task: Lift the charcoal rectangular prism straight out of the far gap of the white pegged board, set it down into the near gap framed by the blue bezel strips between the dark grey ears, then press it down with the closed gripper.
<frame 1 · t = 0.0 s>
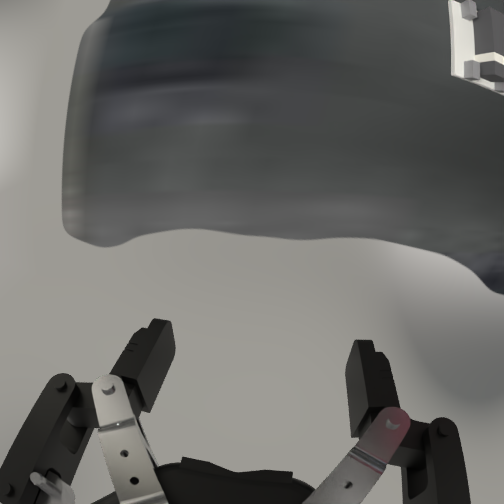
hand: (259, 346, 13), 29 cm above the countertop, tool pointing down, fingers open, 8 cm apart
charcoal rectangular prism: (482, 47, 24), point 1 cm above the countertop, touching white pegged board
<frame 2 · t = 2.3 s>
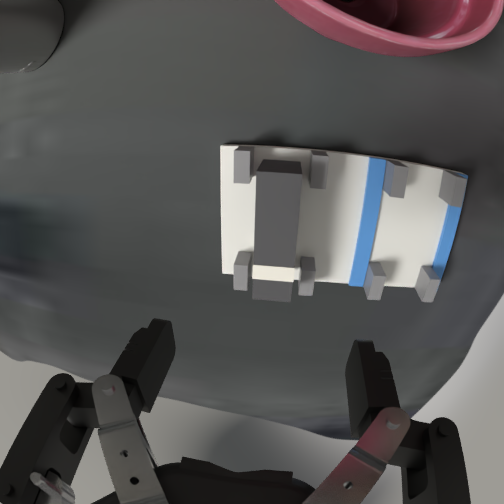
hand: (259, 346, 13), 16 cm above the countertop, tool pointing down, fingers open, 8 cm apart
charcoal rectangular prism: (278, 218, 26), point 1 cm above the countertop, touching white pegged board
white pegged board: (345, 219, 26), on the countertop
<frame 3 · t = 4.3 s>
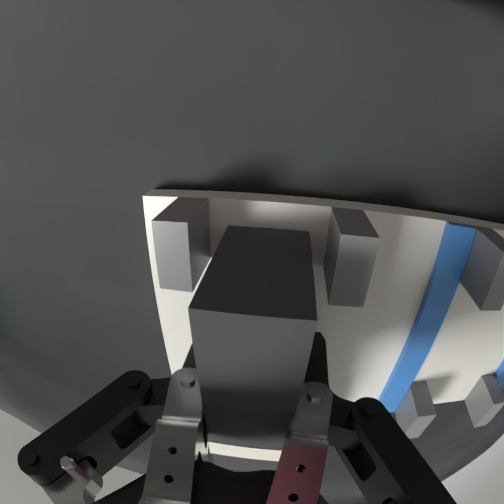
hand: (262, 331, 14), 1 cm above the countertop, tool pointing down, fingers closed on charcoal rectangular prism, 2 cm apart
charcoal rectangular prism: (262, 330, 14), point 1 cm above the countertop, touching white pegged board, gripper
white pegged board: (383, 323, 14), on the countertop
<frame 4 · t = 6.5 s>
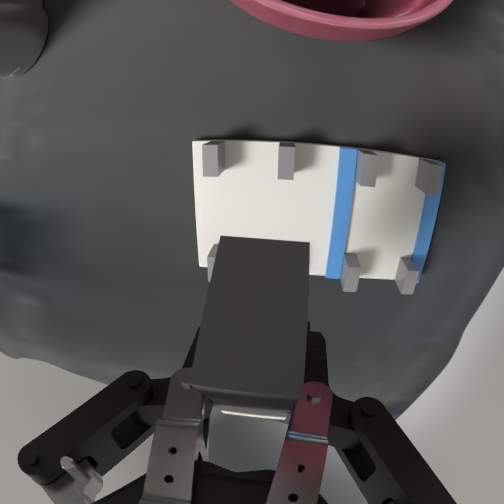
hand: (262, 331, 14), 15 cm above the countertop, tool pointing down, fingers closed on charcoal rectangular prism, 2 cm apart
charcoal rectangular prism: (264, 304, 14), point 14 cm above the countertop, tilted 27°, touching gripper
white pegged board: (319, 211, 27), on the countertop
when the fingers open (2 cm above the countertop, at t = 9.3 s): charcoal rectangular prism stays where it is, resting on white pegged board.
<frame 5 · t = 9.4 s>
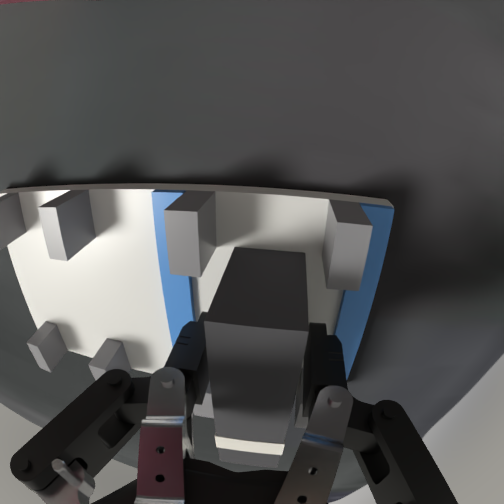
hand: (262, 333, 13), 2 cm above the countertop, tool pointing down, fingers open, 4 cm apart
charcoal rectangular prism: (263, 338, 15), point 1 cm above the countertop, touching white pegged board
white pegged board: (156, 291, 16), on the countertop
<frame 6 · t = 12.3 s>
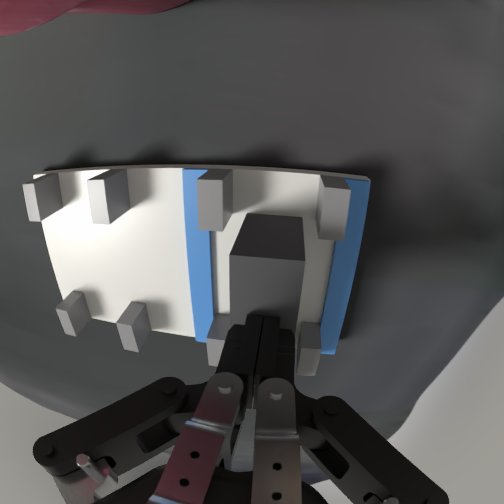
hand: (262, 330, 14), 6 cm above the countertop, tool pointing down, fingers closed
charcoal rectangular prism: (269, 292, 19), point 1 cm above the countertop, touching white pegged board, gripper
white pegged board: (178, 256, 20), on the countertop
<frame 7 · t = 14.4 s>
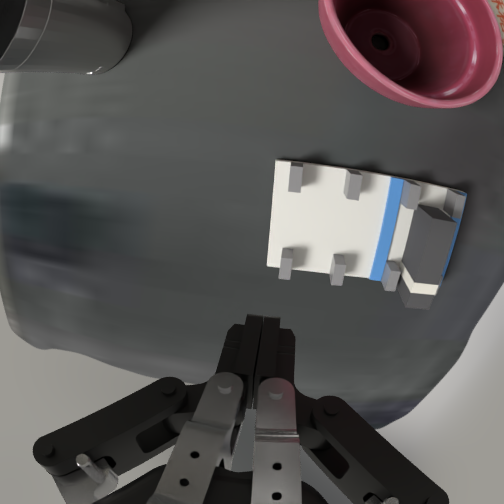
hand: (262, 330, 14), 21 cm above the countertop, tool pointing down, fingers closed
charcoal rectangular prism: (416, 247, 31), point 1 cm above the countertop, touching white pegged board
plant pot: (380, 46, 24), on the countertop
white pegged board: (369, 225, 32), on the countertop
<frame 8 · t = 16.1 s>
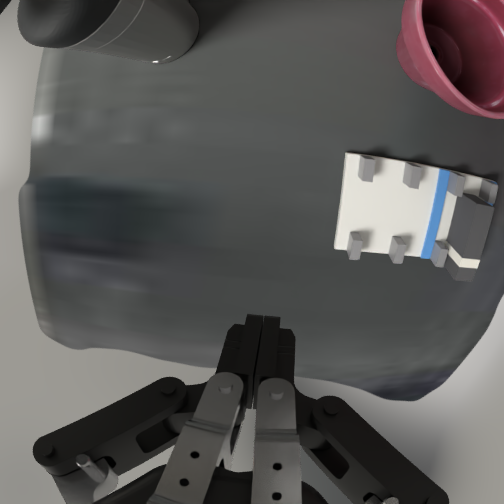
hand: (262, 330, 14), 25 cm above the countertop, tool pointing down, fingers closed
charcoal rectangular prism: (458, 228, 34), point 1 cm above the countertop, touching white pegged board
plant pot: (429, 56, 26), on the countertop
white pegged board: (420, 210, 34), on the countertop
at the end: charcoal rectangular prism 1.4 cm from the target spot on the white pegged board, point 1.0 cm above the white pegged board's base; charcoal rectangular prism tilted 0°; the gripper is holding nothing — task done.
